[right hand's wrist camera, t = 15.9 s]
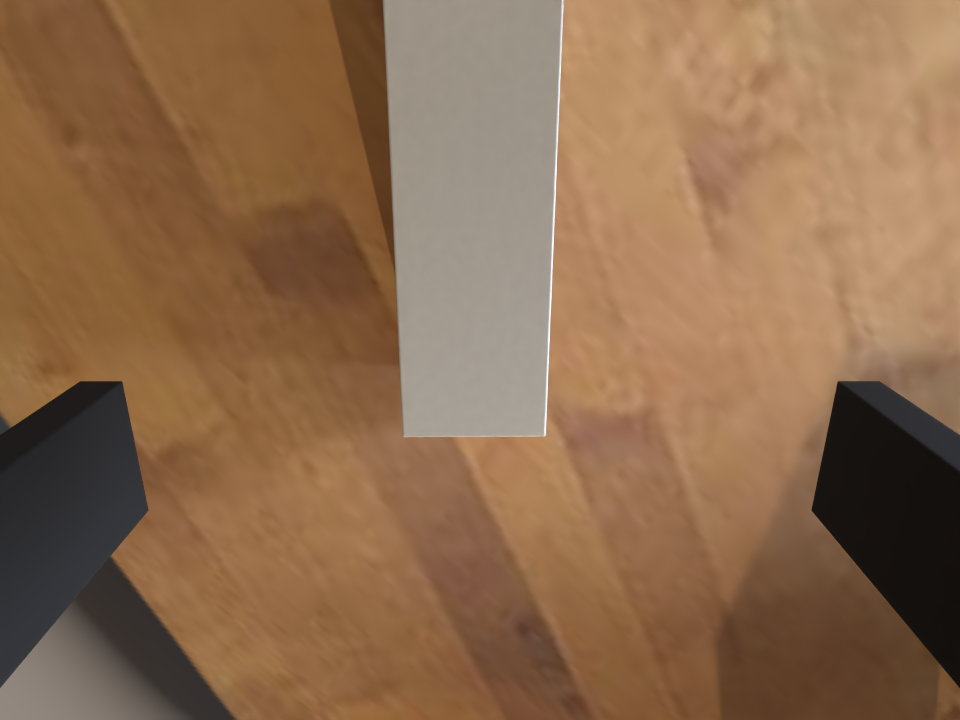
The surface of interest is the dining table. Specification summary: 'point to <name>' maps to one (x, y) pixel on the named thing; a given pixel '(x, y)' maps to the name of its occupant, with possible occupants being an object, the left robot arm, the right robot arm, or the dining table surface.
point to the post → (473, 209)
